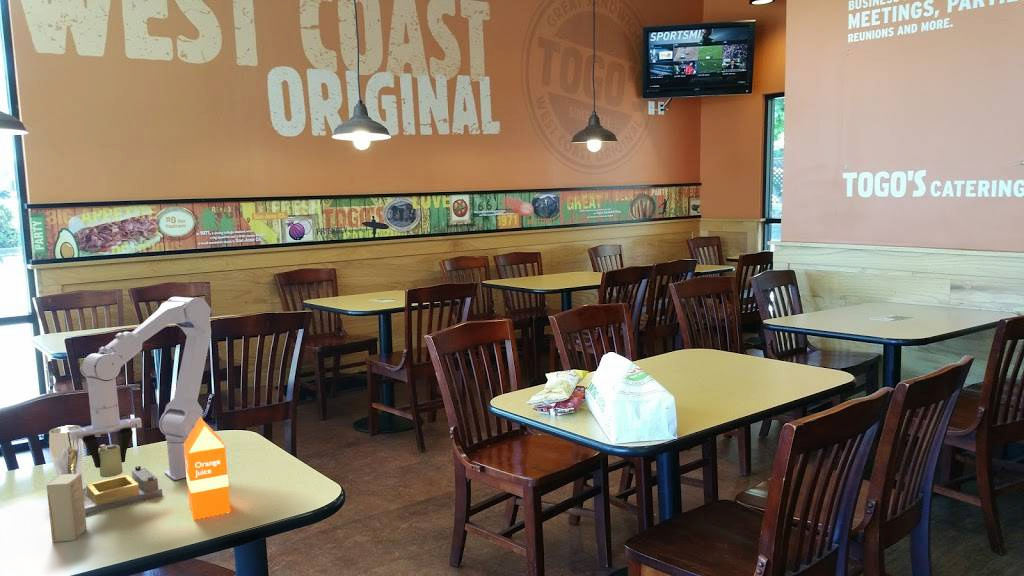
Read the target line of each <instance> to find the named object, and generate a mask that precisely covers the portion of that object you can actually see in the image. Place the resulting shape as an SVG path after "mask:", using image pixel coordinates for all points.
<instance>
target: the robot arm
mask: <svg viewBox="0 0 1024 576" xmlns="http://www.w3.org/2000/svg"><path fill="white" fill-rule="evenodd" d="M211 312H212V308H211V307H210V305H209V304H208V303H207V301H206V300H205V299H204V298H201V297H196V296H195V297H184V296H178V295H177V296H172V297H171V296H170V298H168V299H167V301H164V302H163V303H161V304H160V306H159V308H157V310H156V311H154V312H153V313H152V314H151V315H150V316H149V317H148V318H147V319H145V320H144V321H143V322H142V323H141V324H140V325H139V326H138V327H136V328H134V330H133V331H123V332H118V333H117V334H115V335H114V336H115V338H114V339H113V340H112V341H110V342H109V343H108V344H106V345H105V346H101V347H99V348H98V352H97V353H96V352H94V353H90V354H88V355H87V356H86V357H85V358H84V360H83V362H82V364H81V366H80V368H79V370H80V373H81V374H82V376H83V377H84V378H85V379H86V384H87V390H88V398H89V399H88V401H89V409H90V410H89V411H90V420H91V425H87V426H83V427H81V428H80V429H76V430H72V431H70V439H71V440H72V441H75V440H78V439H82V440H83V444H84V445H85V447H86V448H87V450H88V451H89V453H90V456H91V458H92V460H93V464H94V467H95V468H96V469H99V468H100V460H99V454H98V449H99V440H98V439H97V436H99V435H100V436H101V435H105V434H110V433H115V435H116V439H117V443H118V444H117V445H119V446H120V451H121V461H122V463H126V455H127V449H128V448H129V447H128V446H129V444H130V442H131V438H133V437H132V436H133V435H134V434H133V433H134V432H133V430H132V429H135V428H136V429H140V428H143V426H142V419H141V418H140V417H135V418H127V419H121V417H120V409H119V408H120V407H119V400H118V390H117V380H116V379H117V378H116V377H118V375H119V374H120V372H121V368H122V367H123V366H124V365H125V364H126V363H128V362H129V361H130V360H131V359H132V358H133V357H135V356H136V355H137V354H139V353H140V352H141V351H142V350H143V343H144V342H146V341H147V340H149V339H151V337H152V336H154V335H155V334H157V333H159V332H160V331H161V330H163V329H164V328H165V327H167V326H169V325H172V324H174V325H176V326H177V327H179V328H180V329H181V330H182V331H183V333H184V334H185V336H186V339H185V345H184V349H183V352H182V353H183V354H182V358H181V363H180V367H179V368H180V369H179V373H178V378H177V383H176V387H175V391H174V395H173V399H171V400H170V401H169V402H168V403H167V404H166V406H165V409H164V412H163V413H162V415H161V417H160V418H159V421H158V428H159V430H160V432H161V433H162V434H164V436H165V440H166V447H167V457H168V459H167V460H168V467H169V468H168V469H167V470H164V474H166V476H168V477H169V478H170V479H172V480H173V481H176V480H177V481H178V480H182V479H185V478H186V479H187V477H186V464H185V453H184V443H185V441H186V440H187V438H188V436H189V435H190V433H191V431H192V430H193V428H194V426H195V425H196V423H197V421H198V420H199V418H200V417H201V418H202V419H203V414H204V410H203V408H202V406H201V405H200V403H199V402H198V399H199V394H200V390H201V385H202V380H203V374H204V372H205V371H204V369H205V367H206V361H207V355H208V350H209V346H210V341H211V337H212V327H211V319H210V318H211V314H212V313H211Z"/></svg>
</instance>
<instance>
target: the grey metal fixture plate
mask: <svg viewBox="0 0 1024 576" xmlns="http://www.w3.org/2000/svg"><path fill="white" fill-rule="evenodd" d="M158 480H159V479H158V477H157V476H156V475H154V474H153V472H150V471H149V470H148V469H147V468H146V467H144V468H142V467H141V465H137V466H135V468H134V470H131V476H130V475H129V474H125V475H121V476H120V475H119V476H115V477H112V478H108V479H104V480H100V481H94V482H91V483H85V486H86V488H85V491H84V490H83V497H84V507H85V516H87V515H91V514H95V513H99V512H104V511H106V510H111V509H115V508H118V507H121V506H126V505H131V504H134V503H137V502H139V503H140V502H142V501H146V500H150V499H153V498H156V497H157V498H158V497H162V496H163V490H162V487H160V486H159V483H158V482H159V481H158Z"/></svg>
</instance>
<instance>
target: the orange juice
mask: <svg viewBox="0 0 1024 576" xmlns="http://www.w3.org/2000/svg"><path fill="white" fill-rule="evenodd" d="M184 453H185V464H186V485H187V486H186V487H187V495H188V506H189V510H191V511H190V514H191V516H192V519H193V521H197V520H196V519H198V520H202V519H201V518H203V519H206V518H205V517H208V518H211V517H210V516H212V517H216V516H215V515H217V516H220V515H219V514H222V515H224V514H223V513H227V512H231V501H230V491H229V488H230V487H229V478H228V476H229V475H228V467H227V456H226V445H225V444H224V442H223V441H222V439H221V437H220V436H219V435H218V434H217V433H216V432H215V431H214V430H213V429H212V427H210V425H208V423H207V422H205V421H204V420H203V417H202V418H201V417H200V418H199V420H198V421H197V423H196V425H195V426H194V428H193V430H192V431H191V433H190V435H189V436H188V438H187V440H186V441H185V443H184ZM227 514H228V513H227Z"/></svg>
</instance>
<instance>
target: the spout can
mask: <svg viewBox="0 0 1024 576" xmlns="http://www.w3.org/2000/svg"><path fill="white" fill-rule="evenodd" d="M98 454H99V460H100V468H98V469H99V475H100V477H101V478H111V477H112V478H114V477H118V476H120V475H122V474H123V473H124V472H123V462H122V461H121V451H120V446H119V445H118V444H109V445H106V444H100V445H99V447H98Z"/></svg>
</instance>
